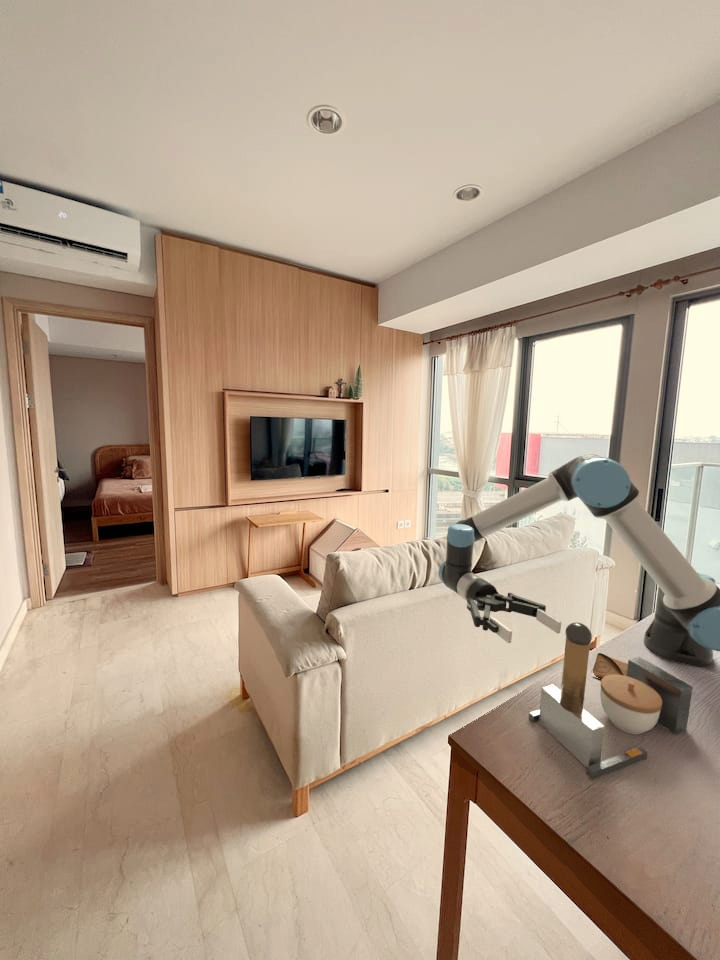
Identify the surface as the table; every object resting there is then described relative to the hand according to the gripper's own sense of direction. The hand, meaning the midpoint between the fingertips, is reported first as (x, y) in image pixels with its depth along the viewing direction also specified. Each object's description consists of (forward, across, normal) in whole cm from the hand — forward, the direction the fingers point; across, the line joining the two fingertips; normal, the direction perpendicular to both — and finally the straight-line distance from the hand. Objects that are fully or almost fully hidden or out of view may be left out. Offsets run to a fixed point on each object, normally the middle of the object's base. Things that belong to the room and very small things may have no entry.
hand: (535, 632), depth 86 cm
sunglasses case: (+3, -29, -18) cm, 34 cm away
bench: (+11, -11, -17) cm, 23 cm away
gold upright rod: (+11, +1, -17) cm, 21 cm away
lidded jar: (+11, -16, -17) cm, 26 cm away
